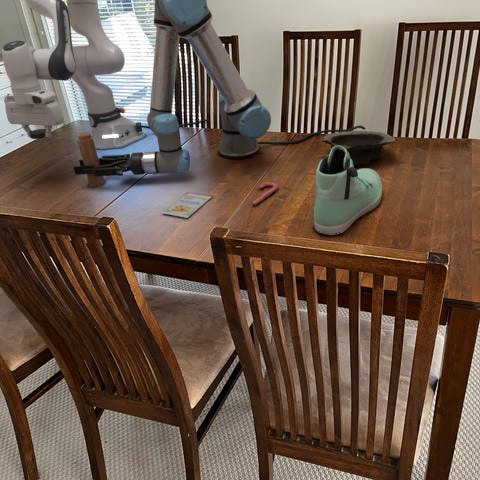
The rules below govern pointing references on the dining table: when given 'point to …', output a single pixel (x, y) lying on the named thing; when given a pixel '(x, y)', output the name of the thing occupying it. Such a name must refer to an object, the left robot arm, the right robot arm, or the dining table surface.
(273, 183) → the candy cane
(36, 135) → the lid
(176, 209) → the baking ingredient package
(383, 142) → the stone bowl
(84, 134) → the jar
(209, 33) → the right robot arm
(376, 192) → the sneaker
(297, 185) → the dining table surface
